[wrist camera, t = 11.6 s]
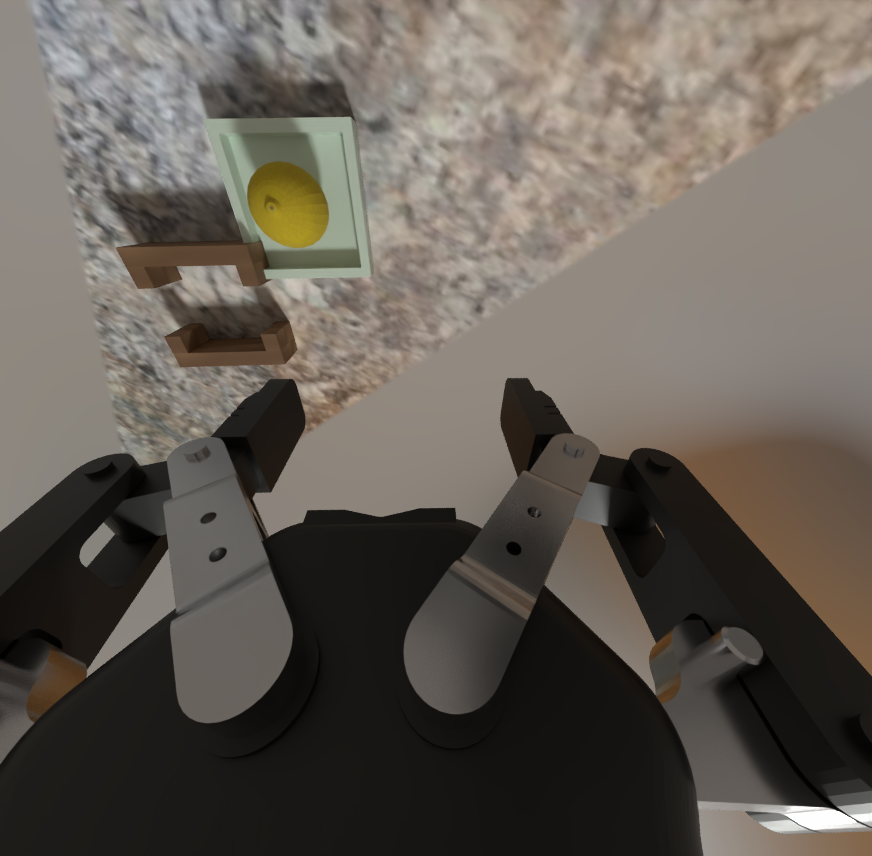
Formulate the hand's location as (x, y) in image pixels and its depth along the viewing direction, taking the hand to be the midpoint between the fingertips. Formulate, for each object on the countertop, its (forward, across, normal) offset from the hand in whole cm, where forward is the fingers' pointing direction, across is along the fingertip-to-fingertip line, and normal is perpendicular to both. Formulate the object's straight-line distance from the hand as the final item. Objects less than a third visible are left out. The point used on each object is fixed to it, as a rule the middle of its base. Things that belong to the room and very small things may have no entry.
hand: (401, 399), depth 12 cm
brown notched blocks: (+25, +20, +3) cm, 32 cm away
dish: (+25, +10, -6) cm, 27 cm away
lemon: (+24, +10, -6) cm, 27 cm away
